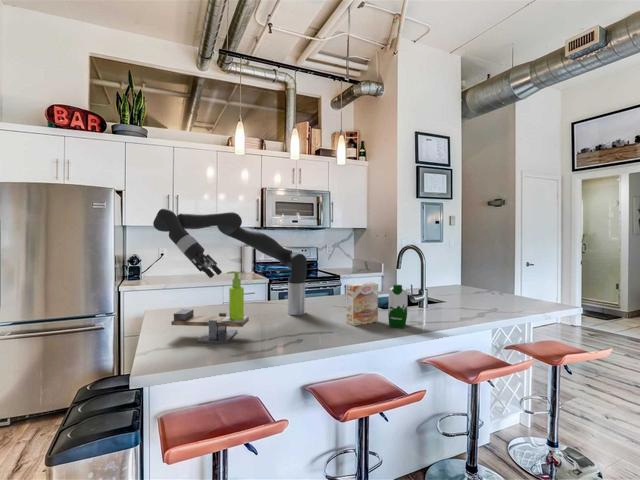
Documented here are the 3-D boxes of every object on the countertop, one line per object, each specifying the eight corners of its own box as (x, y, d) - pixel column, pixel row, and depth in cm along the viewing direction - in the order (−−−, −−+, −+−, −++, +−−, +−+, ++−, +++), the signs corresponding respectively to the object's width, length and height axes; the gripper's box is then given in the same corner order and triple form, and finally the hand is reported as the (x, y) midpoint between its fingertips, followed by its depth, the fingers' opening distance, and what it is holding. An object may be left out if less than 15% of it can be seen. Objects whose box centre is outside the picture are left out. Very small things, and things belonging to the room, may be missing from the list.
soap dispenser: (228, 316, 150) (228, 270, 150) (244, 316, 151) (244, 270, 150) (225, 320, 144) (225, 272, 144) (242, 319, 145) (242, 272, 144)
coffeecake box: (353, 326, 167) (353, 285, 166) (345, 322, 173) (345, 283, 172) (378, 322, 174) (378, 283, 173) (370, 319, 180) (370, 281, 179)
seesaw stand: (237, 332, 156) (237, 312, 156) (225, 343, 140) (225, 321, 140) (211, 331, 157) (211, 311, 157) (196, 343, 141) (196, 321, 141)
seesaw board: (248, 320, 152) (248, 310, 152) (242, 326, 142) (242, 315, 142) (182, 318, 154) (182, 308, 154) (171, 325, 144) (171, 314, 144)
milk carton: (387, 327, 165) (387, 285, 165) (389, 322, 174) (390, 282, 173) (406, 328, 163) (406, 286, 162) (407, 324, 171) (408, 283, 170)
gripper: (188, 242, 141) (216, 271, 140) (203, 240, 155) (228, 267, 154) (176, 255, 141) (203, 284, 141) (191, 252, 155) (216, 278, 155)
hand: (216, 275), depth 148 cm, fingers open, 8 cm apart
